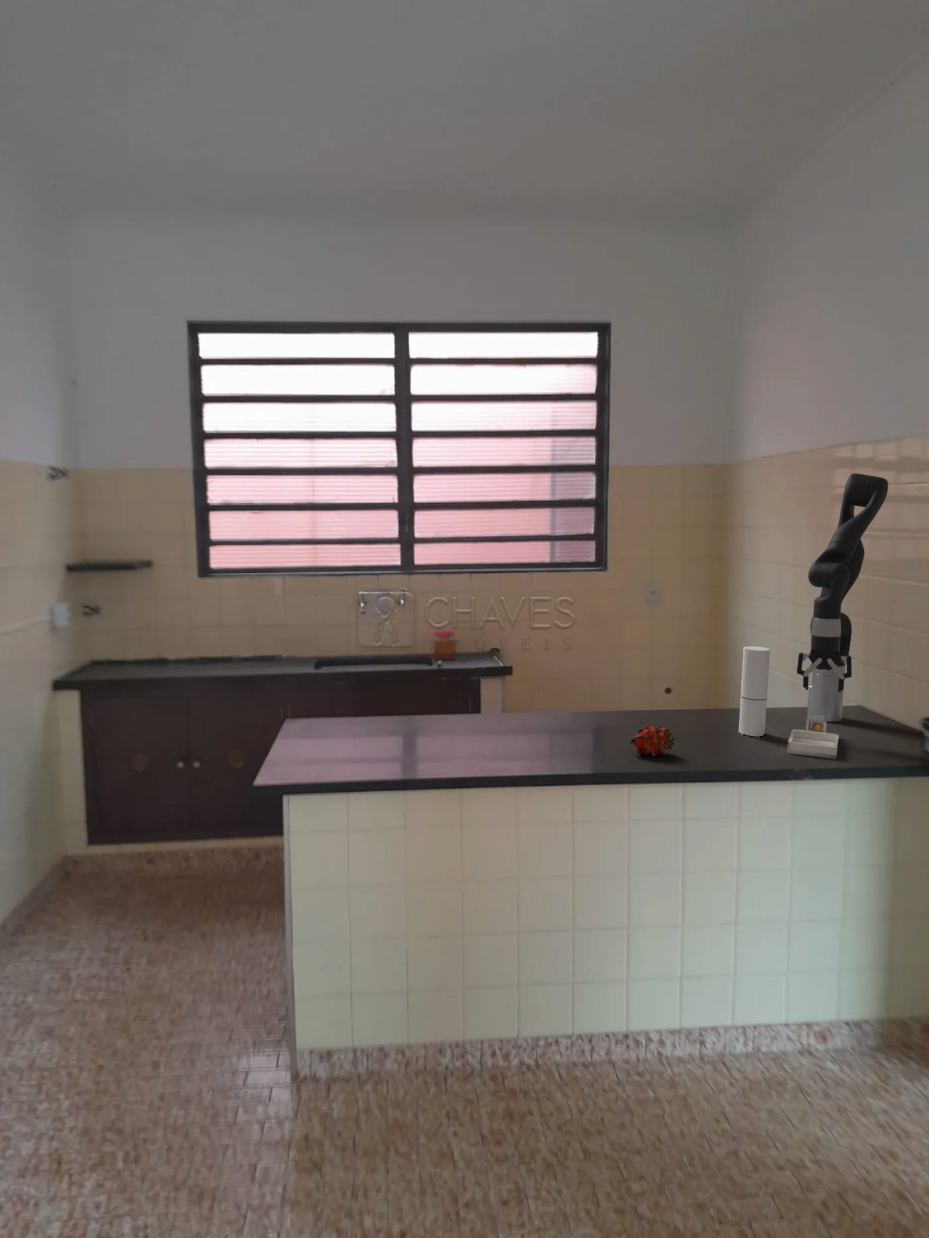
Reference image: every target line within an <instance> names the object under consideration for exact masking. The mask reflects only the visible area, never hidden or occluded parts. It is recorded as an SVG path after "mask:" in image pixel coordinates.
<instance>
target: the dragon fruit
mask: <svg viewBox="0 0 929 1238" xmlns="http://www.w3.org/2000/svg"><path fill="white" fill-rule="evenodd" d="M674 741H675V738H674V733H672V732H671V731H670V729H669V728H666V727H661V726H660V725H659V724H656V726H652V725H651V726H650V725H645V727H644V728H640V729H638V731H637V733H636V735H635V736H634V737H633V738H632V739H631V741H629V743H630V745H632V744H633V745H634V746H635V747H634V751H637V754H643V755H649V754H651V755H652V757H655V756H658V755H659V756H662V755H663V753H664V752H666V751H670V750H672V746H674Z"/></svg>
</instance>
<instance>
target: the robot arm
mask: <svg viewBox="0 0 929 1238" xmlns="http://www.w3.org/2000/svg"><path fill="white" fill-rule="evenodd" d="M888 491H889V481H888V480H887V478H885V477H880V476H875V475H869V474H863V473H856V472H855V473H851V474H850V475H849V476H848V478H847V480H846V483H845V486H844V490H843V494H842V495H843V496H842V502H841V507H840V513H839V518H838V523H837V529H836V530H835V531H834V533H833V535H832V537H831V539H830V541H829V543H828V545H827V547H826V549H825V550H824V551H823V552H821V554H820V555H819V556H818V557H817V558H816V559H815V560H814V561H813V562H812V564H811V565H810V568H809V570H808V575H807V576H808V581H809V584H810V585H811V586H813V587H815V588H821V592H820V596H818V597H816V598H815V599H814V601H813V615H812V616H811V621H810V625H809V626H810V627H809V629H810V634H811V635H810V636H811V639H810V652H809V653H804V652H799V653H798V657H797V666H796V673H797V675H801V676H802V678H803V679H802V681H803V682H802V688H805V690H806V691H808V695H807V696H808V699H807V714H806V715H807V716H808V714H817V715H827V723H828V722H830V723H832V722H841V721H842V714H843V705H844V704H843V702H844V692H845V680H846V679H848V678H852V674H853V671H852V670H853V669H852V665H853V664H852V656H851V655H850V650H851V642H852V633H853V631H852V630H853V626H852V622H851V619H850V617H849V616H848V615H847V614H846V613H844V612H842V603H843V601H844V599H845V597H846V596H847V594H848V593H849V592H850V590H851V588H852V587H853V585H854V584H855V583H856V581H857V579H858V578H859V576H860V573H861V570H862V566H863V563H864V559H865V548H864V543H863V541H862V539H861V538H862V537H863V535H864V533H865V532H866V530H867V529H868V528H869V527H870V525H871V523H872V521H873V520H874V519H875V517H876V516H877V514H878V513H879V511H880V510H881V508H882V506H883V505H884V503H885V501H886V498H887V495H888ZM855 507H862V508H864V509H862V510H861V511H860V512H858V513H857V514H856V515H855ZM807 659H808V660H810V662H811V664H810V665H809V666H808V667H807V669H806V670H803V662H805V661H806V660H807ZM811 673H812V675H811V676H812V677H811V685H809V681H810V680H809V678H810V677H809V676H810V674H811Z"/></svg>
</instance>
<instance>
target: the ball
mask: <svg viewBox="0 0 929 1238" xmlns="http://www.w3.org/2000/svg"><path fill="white" fill-rule="evenodd" d="M811 730H812V731H813V732H823V729H822V727H821V726H820V725H814V726H813V727H812V729H811Z"/></svg>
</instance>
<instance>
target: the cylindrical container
mask: <svg viewBox="0 0 929 1238" xmlns="http://www.w3.org/2000/svg"><path fill="white" fill-rule="evenodd" d="M742 649H743V652H742V667H741V668H742V669H741V670H742V671H741V684H740V685H741V688H740V705H739V706H740V707H739V724H738V733H739V732H740V733H741V734H746V735H750V736H763V735H764V734H765V733H766V722H767V721H766V720H767V719H766V718H767V717H766V716H767V703H768V689H769V688H768V685H769V672H770V671H769V670H770V656H771V655H770V652H771V649H770V648H769V647H764V646H753V645H751V646H748V645H747V646H744V647H743V648H742ZM741 734H740V735H741ZM763 737H764V736H763Z"/></svg>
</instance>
